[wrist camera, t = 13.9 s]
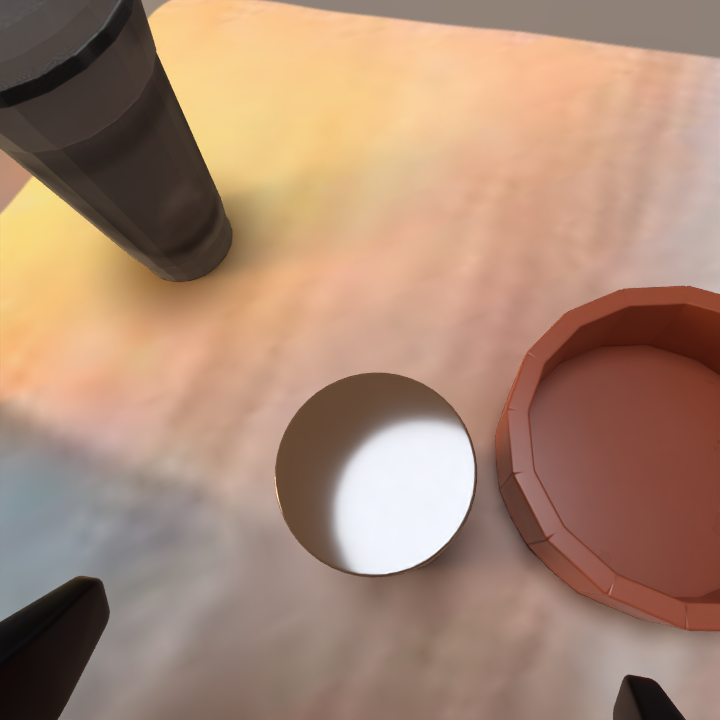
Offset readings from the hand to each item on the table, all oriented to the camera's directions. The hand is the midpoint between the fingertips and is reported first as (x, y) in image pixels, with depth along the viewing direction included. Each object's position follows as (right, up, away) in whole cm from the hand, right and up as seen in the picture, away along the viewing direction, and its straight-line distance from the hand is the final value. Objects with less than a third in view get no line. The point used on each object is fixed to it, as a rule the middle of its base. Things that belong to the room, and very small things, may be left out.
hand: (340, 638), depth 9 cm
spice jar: (+2, -1, +11) cm, 11 cm away
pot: (+11, +1, +11) cm, 15 cm away
